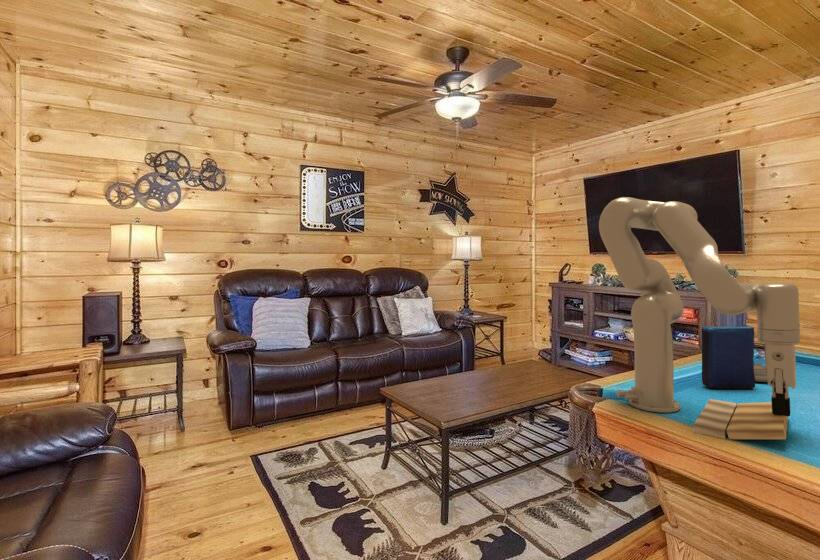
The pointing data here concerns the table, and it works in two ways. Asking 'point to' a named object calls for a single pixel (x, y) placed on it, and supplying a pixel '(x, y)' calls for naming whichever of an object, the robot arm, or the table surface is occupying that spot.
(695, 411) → the table surface
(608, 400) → the table surface
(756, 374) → the flying saucer
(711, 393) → the table surface
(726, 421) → the ash board
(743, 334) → the book
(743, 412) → the oak plank
